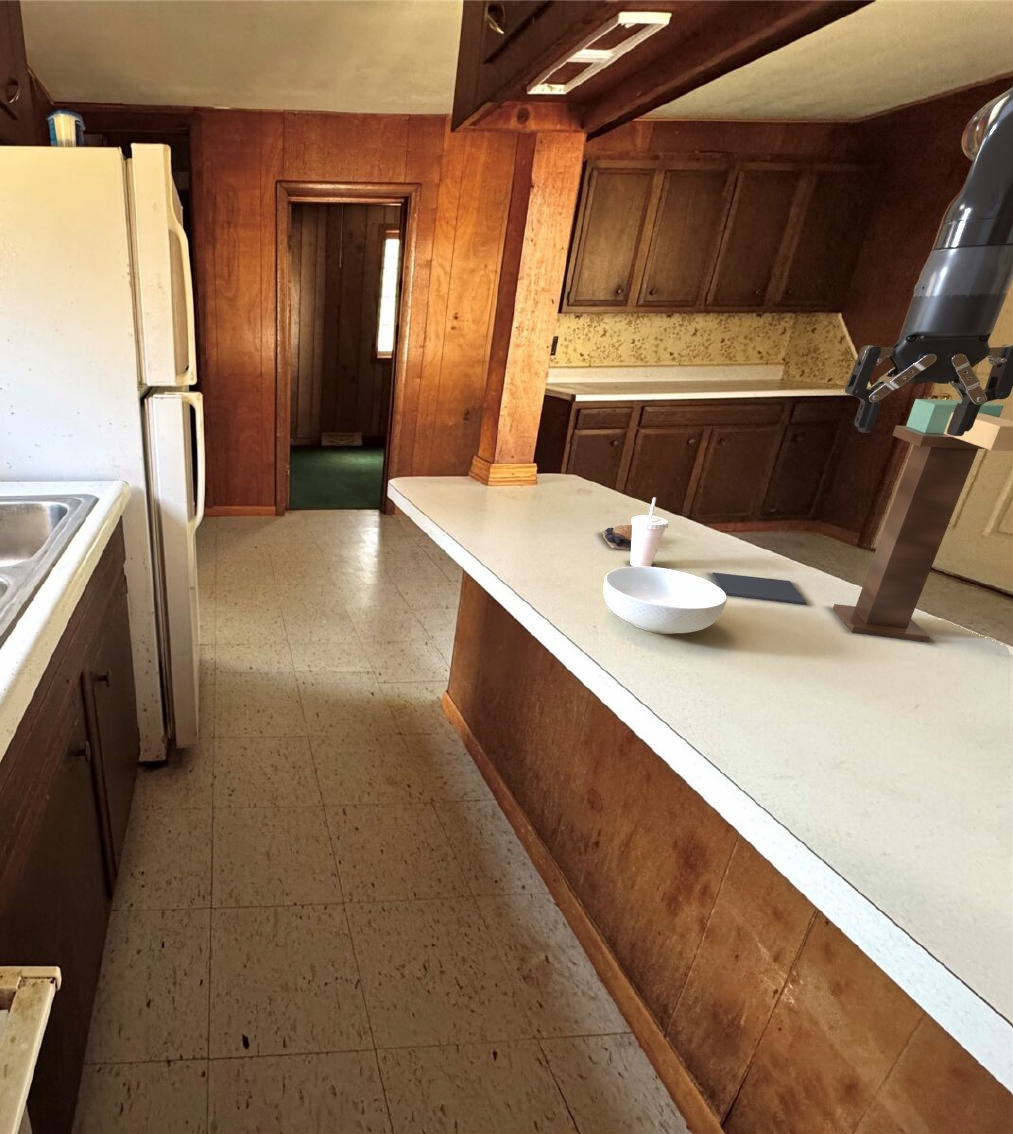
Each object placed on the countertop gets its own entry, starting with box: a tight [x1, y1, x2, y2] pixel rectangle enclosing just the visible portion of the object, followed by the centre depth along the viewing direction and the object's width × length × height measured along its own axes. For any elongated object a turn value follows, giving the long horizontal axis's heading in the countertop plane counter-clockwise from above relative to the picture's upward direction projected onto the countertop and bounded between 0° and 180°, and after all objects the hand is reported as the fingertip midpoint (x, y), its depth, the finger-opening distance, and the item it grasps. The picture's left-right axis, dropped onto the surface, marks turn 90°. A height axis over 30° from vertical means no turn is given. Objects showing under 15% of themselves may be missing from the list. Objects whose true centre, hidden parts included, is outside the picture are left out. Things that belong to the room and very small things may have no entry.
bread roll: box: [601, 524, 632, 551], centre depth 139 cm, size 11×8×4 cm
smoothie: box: [629, 497, 670, 567], centre depth 124 cm, size 6×6×14 cm
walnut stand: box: [832, 425, 987, 643], centre depth 95 cm, size 9×9×31 cm
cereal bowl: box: [602, 565, 728, 635], centre depth 102 cm, size 17×17×7 cm
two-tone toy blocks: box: [905, 398, 1013, 452], centre depth 84 cm, size 7×18×4 cm, turn 155°
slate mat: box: [711, 572, 807, 605], centre depth 114 cm, size 12×10×1 cm
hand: (908, 433), depth 78 cm, fingers open, 8 cm apart
